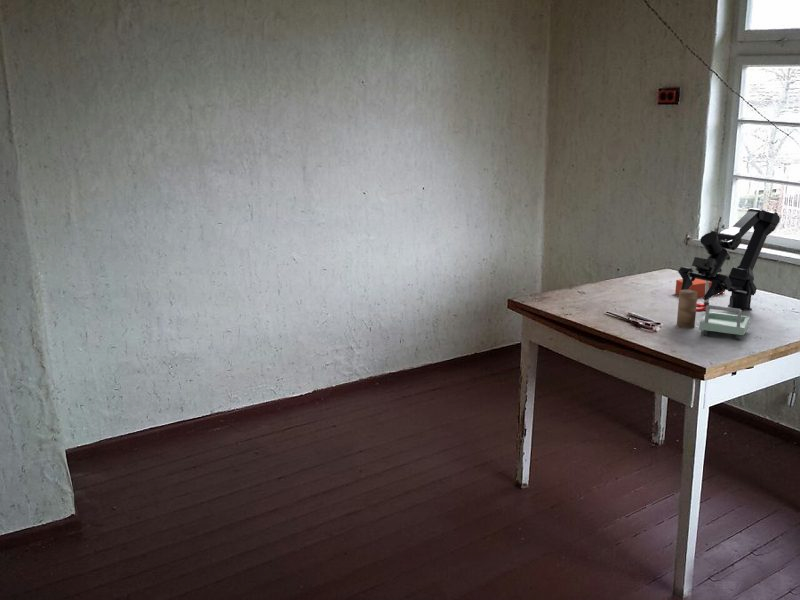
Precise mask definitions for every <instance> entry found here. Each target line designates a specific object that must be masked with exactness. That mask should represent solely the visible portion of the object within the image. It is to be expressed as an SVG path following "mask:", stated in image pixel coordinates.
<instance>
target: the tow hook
mask: <svg viewBox="0 0 800 600" xmlns="http://www.w3.org/2000/svg"><path fill="white" fill-rule="evenodd" d="M708 290H709V281H706V284H705V294H706V293H707V291H708ZM703 300H704V299H703ZM709 301H710V298H709V299H707V300H704V301H703V303H698V302H697V305H696V312H699V311H700V312H701V311H706V306H707V305H710V302H709ZM710 310H711V309H709V311H710Z"/></svg>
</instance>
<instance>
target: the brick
mask: <svg viewBox="0 0 800 600" xmlns="http://www.w3.org/2000/svg"><path fill="white" fill-rule="evenodd" d="M675 282H676V283H675V289H674V290H675V292H674V294H675V293H676V294H675V295H678V294H679V291H680V290H681V289H682V283H683V279H682V278H681V279H680V278H679V279H676V280H675ZM692 283H693V284H692V285H691V286H690V288H689V289H688V290H695V291H697V292H698V294H697V299H698V297H699V298H704V297H703V296H705V284H706V281H705V280H701V279H696V278H695V280H694V281H692ZM711 284H712V282H710V281H709V288H710V286H711ZM725 291H726V290H725ZM725 291H722V292H720V293H723V292H724V293H725ZM724 293H723V294H724Z"/></svg>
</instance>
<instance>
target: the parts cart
mask: <svg viewBox="0 0 800 600" xmlns="http://www.w3.org/2000/svg"><path fill="white" fill-rule="evenodd" d="M709 309H710V310H717V311H724V312H723V313H722V312H715V311H710V310H709ZM726 311H727V312H732V314H731V313H725V312H726ZM733 312H734V313H737V314H733ZM742 314H743V310H740V309H737V308H730V307H729V306H720V305H719V306H718V305H710V304H709V305H707V306H706V310H705V314H704V315H703V317H702V318H701V320H700V321H699V326H698V327H699V328H698V329H699V330H702V335H703V336H708V333H709V332H715V333H716V332H717V333H723V334H730V335H731V334H732V335H735V340H737V341H740V340H741V336H745V333H746V331H747V330H748V327H749V325H750V320H751V316H747V315H742Z"/></svg>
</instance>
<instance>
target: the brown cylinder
mask: <svg viewBox="0 0 800 600" xmlns="http://www.w3.org/2000/svg"><path fill="white" fill-rule="evenodd" d="M697 294H698V292H697V291H695V290H687V289H685V290H680V291H679V295H678V303H677V304H678V307H677V318H676V319H677V320H676V326H677V327H679V328H682V329H683V328H684V329H693V328H695V325H696V316H697V315H696V313H697V311H696V308H697V306H696V305H697V303H698V298H697Z"/></svg>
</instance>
